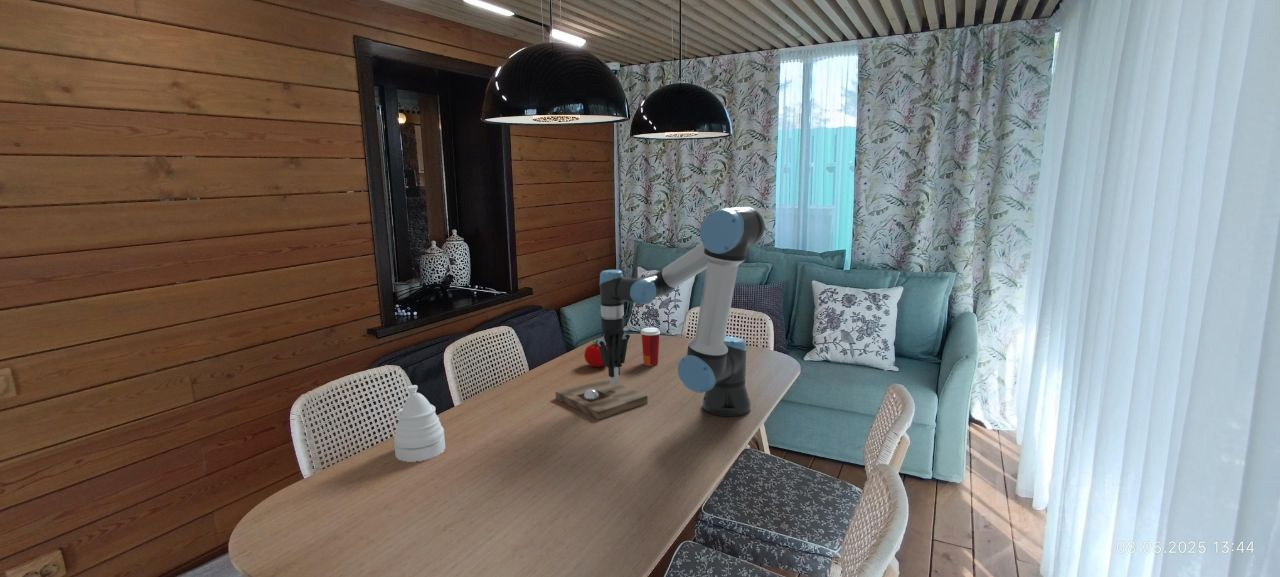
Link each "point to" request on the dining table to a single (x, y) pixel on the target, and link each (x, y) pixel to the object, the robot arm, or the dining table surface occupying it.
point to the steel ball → (591, 395)
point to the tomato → (593, 355)
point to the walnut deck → (601, 398)
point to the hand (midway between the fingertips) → (614, 385)
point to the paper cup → (650, 345)
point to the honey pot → (418, 429)
